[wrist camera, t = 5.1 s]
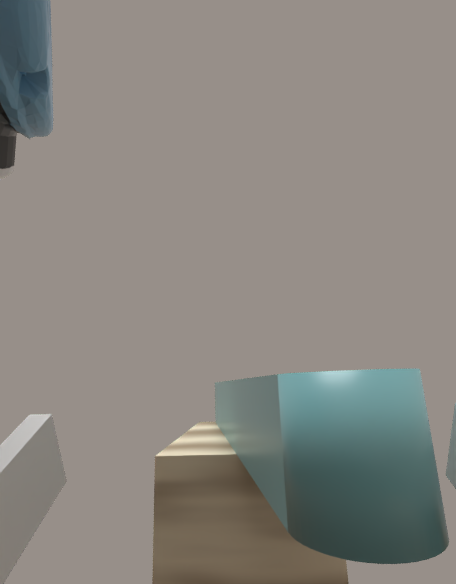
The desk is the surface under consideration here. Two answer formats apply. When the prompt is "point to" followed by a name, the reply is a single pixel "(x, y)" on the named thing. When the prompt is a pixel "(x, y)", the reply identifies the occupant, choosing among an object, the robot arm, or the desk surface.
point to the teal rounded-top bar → (341, 459)
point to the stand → (223, 522)
